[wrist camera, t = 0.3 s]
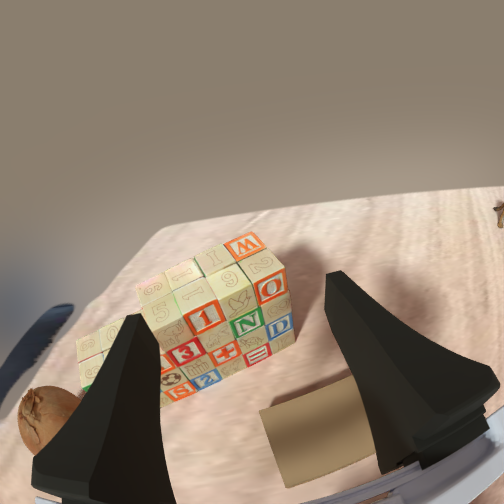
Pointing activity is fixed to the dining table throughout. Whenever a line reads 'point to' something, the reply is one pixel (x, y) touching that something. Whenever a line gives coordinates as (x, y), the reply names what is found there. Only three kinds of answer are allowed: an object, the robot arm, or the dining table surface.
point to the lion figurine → (500, 224)
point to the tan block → (318, 432)
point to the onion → (44, 415)
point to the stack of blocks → (207, 317)
